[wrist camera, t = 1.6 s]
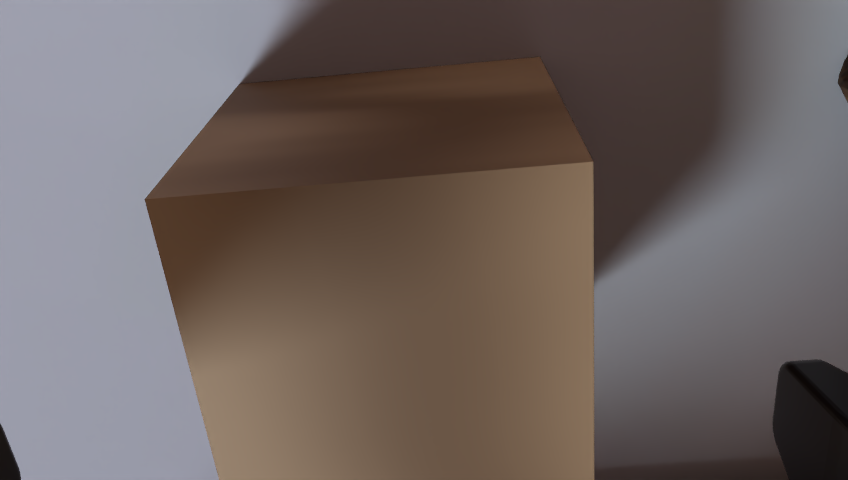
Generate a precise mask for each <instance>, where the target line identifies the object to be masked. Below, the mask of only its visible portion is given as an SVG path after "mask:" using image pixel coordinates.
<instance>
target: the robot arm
mask: <svg viewBox="0 0 848 480" xmlns="http://www.w3.org/2000/svg"><path fill="white" fill-rule="evenodd" d="M773 433H774V438H775V442H776V445H777V448H778V450H779V453H780V456H781V459H782V461H783V464H784V467H785V469H786V472H787V475H788V478H789V480H848V373H846V372H844V371H842V370H840V369H839V368H837V367H835V366H833V365H831V364H829V363H827V362H825V361H822V360H817V359H816V360H802V361H789V362H786V363H784V364H783V365H782V366H781V368H780V370H779V374H778V381H777V389H776V398H775V406H774V415H773ZM0 480H21V476H20V471H19V467H18V465H17V462H16V460H15V457H14V455H13V452H12V450H11V447H10V445H9V442H8V440H7V437H6V435H5V432H4V430H3V428H2V426H1V424H0Z"/></svg>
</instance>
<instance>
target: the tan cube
mask: <svg viewBox="0 0 848 480" xmlns="http://www.w3.org/2000/svg"><path fill="white" fill-rule="evenodd" d="M145 202H146V206H147V210H148V213H149V217H150V221H151V225H152V228H153V232H154V236H155V240H156V243H157V247H158V251H159V255H160V258H161V262H162V266H163V270H164V274H165V277H166V281H167V285H168V289H169V292H170V296H171V300H172V304H173V307H174V311H175V315H176V319H177V322H178V326H179V330H180V334H181V337H182V341H183V345H184V349H185V353H186V356H187V360H188V364H189V368H190V371H191V375H192V379H193V383H194V386H195V390H196V394H197V398H198V401H199V405H200V409H201V413H202V416H203V420H204V424H205V428H206V432H207V435H208V439H209V443H210V447H211V450H212V454H213V458H214V462H215V465H216V469H217V473H218V477H219V480H594V191H593V160H592V158H591V156H590V154H589V152H588V150H587V148H586V146H585V144H584V142H583V140H582V138H581V136H580V134H579V132H578V130H577V128H576V127H575V125H574V123H573V121H572V119H571V117H570V115H569V113H568V111H567V109H566V107H565V105H564V103H563V101H562V99H561V97H560V95H559V93H558V91H557V89H556V87H555V85H554V83H553V82H552V80H551V78H550V76H549V74H548V72H547V70H546V68H545V66H544V64H543V62H542V60H541V58H540V57H531V58H520V59H509V60H498V61H487V62H476V63H465V64H454V65H443V66H432V67H421V68H410V69H399V70H388V71H377V72H366V73H355V74H344V75H333V76H322V77H311V78H300V79H289V80H278V81H267V82H256V83H245V84H239V85H238V86H237V88H236V89H235V90H234V91H233V93H232V94H231V95H230V96H229V97H228V99H227V100H226V101H225V102H224V103H223V105H222V106H221V107H220V108H219V110H218V111H217V112H216V113H215V114H214V116H213V117H212V118H211V119H210V121H209V122H208V123H207V124H206V125H205V127H204V128H203V129H202V130H201V131H200V133H199V134H198V135H197V136H196V138H195V139H194V140H193V141H192V142H191V144H190V145H189V146H188V147H187V149H186V150H185V151H184V152H183V153H182V155H181V156H180V157H179V158H178V160H177V161H176V162H175V163H174V164H173V166H172V167H171V168H170V169H169V170H168V172H167V173H166V174H165V175H164V177H163V178H162V179H161V180H160V181H159V183H158V184H157V185H156V186H155V188H154V189H153V190H152V191H151V192H150V194H149V195H148V196H147V197H146V198H145Z"/></svg>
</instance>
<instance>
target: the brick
mask: <svg viewBox="0 0 848 480" xmlns="http://www.w3.org/2000/svg"><path fill="white" fill-rule="evenodd" d="M838 84H839V86H840V88H841V90H842V92H843V94H844V96H845V98H846V100H847V102H848V56H847V58H846V59H845V61H844V63H843V66H842V69H841V72H840V74H839V79H838Z"/></svg>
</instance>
